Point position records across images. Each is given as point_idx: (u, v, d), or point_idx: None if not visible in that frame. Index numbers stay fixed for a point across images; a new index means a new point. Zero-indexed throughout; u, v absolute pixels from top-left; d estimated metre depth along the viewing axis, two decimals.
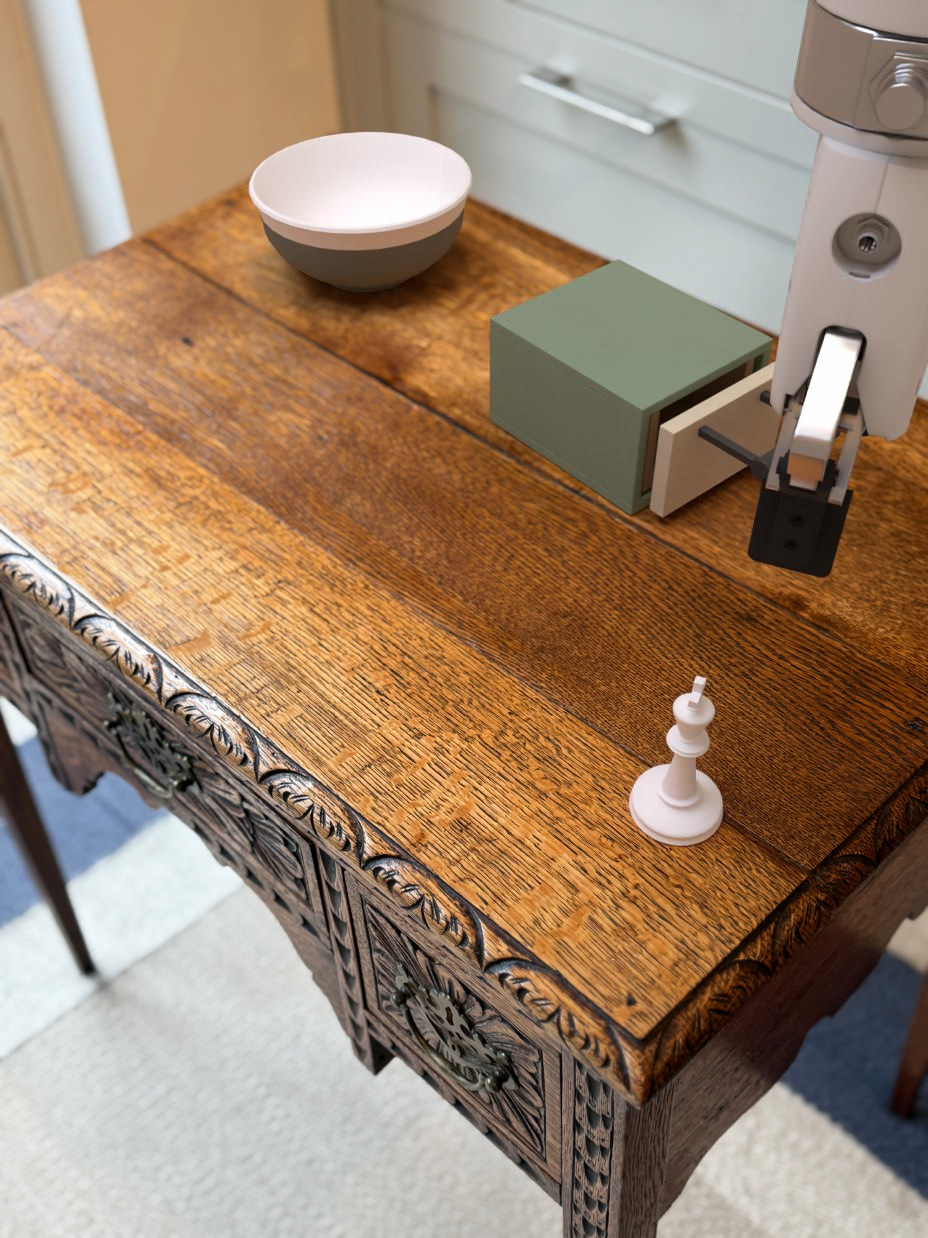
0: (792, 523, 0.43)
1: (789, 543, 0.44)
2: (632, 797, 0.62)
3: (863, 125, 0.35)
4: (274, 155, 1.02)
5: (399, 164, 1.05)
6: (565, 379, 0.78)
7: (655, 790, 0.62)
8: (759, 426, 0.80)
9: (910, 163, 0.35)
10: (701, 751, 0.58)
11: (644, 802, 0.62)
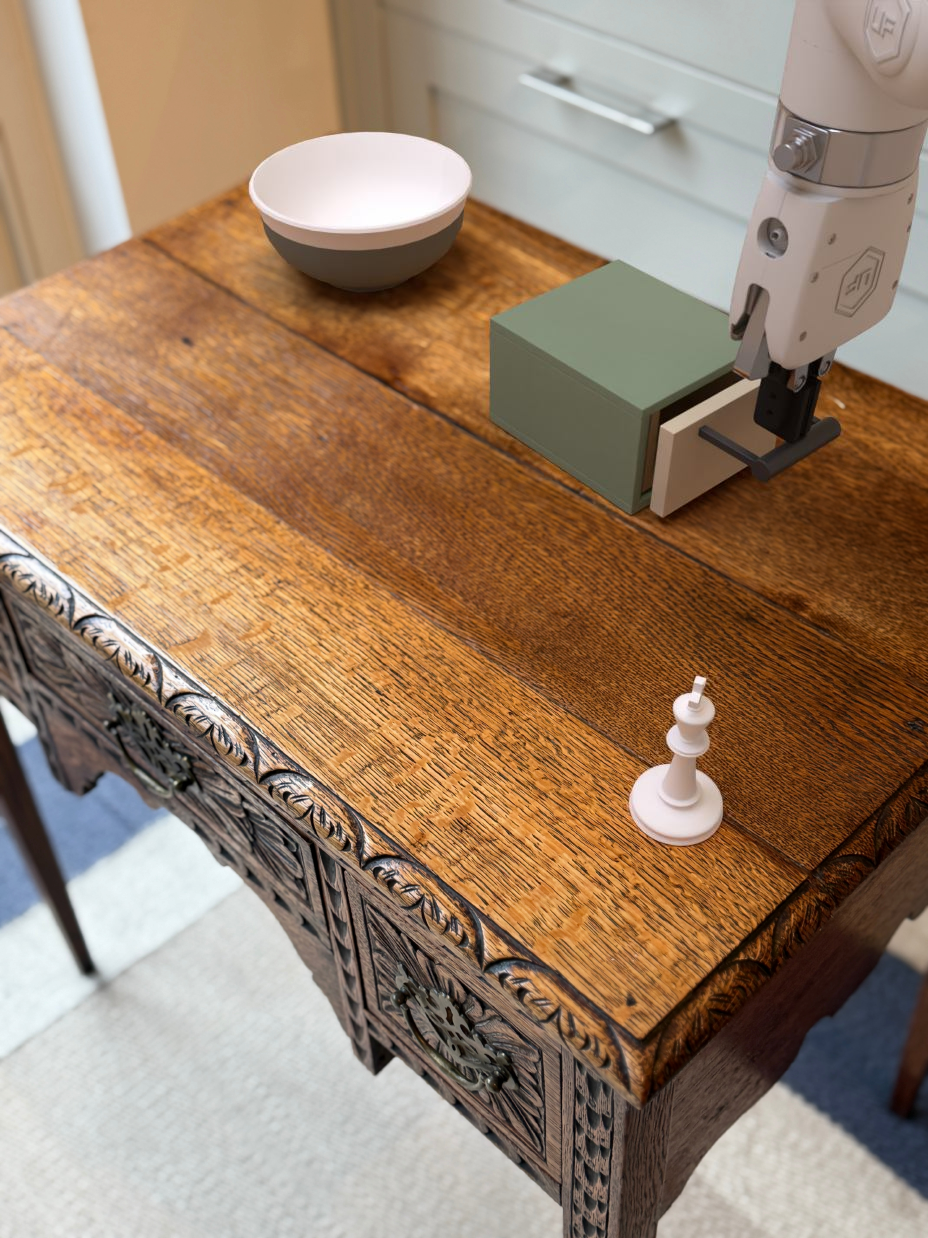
0: (771, 399, 0.71)
1: (770, 413, 0.72)
2: (632, 797, 0.62)
3: None
4: (274, 155, 1.02)
5: (399, 164, 1.05)
6: (565, 379, 0.78)
7: (655, 790, 0.62)
8: (759, 426, 0.80)
9: (799, 193, 0.60)
10: (701, 751, 0.58)
11: (644, 802, 0.62)
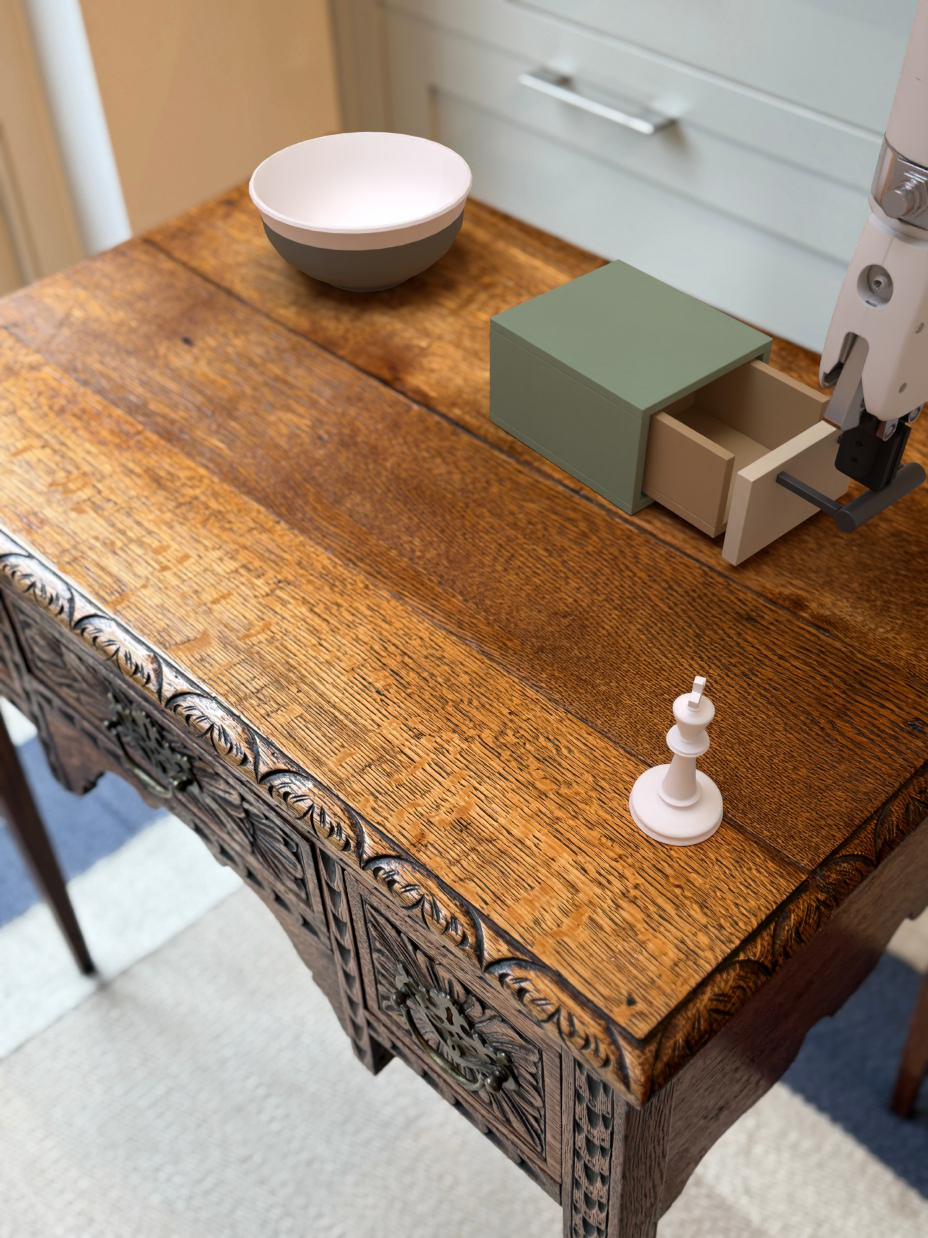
0: (857, 446, 0.68)
1: (854, 460, 0.69)
2: (632, 797, 0.62)
3: None
4: (274, 155, 1.02)
5: (399, 164, 1.05)
6: (565, 379, 0.78)
7: (655, 790, 0.62)
8: (834, 470, 0.76)
9: (907, 240, 0.56)
10: (701, 751, 0.58)
11: (644, 802, 0.62)
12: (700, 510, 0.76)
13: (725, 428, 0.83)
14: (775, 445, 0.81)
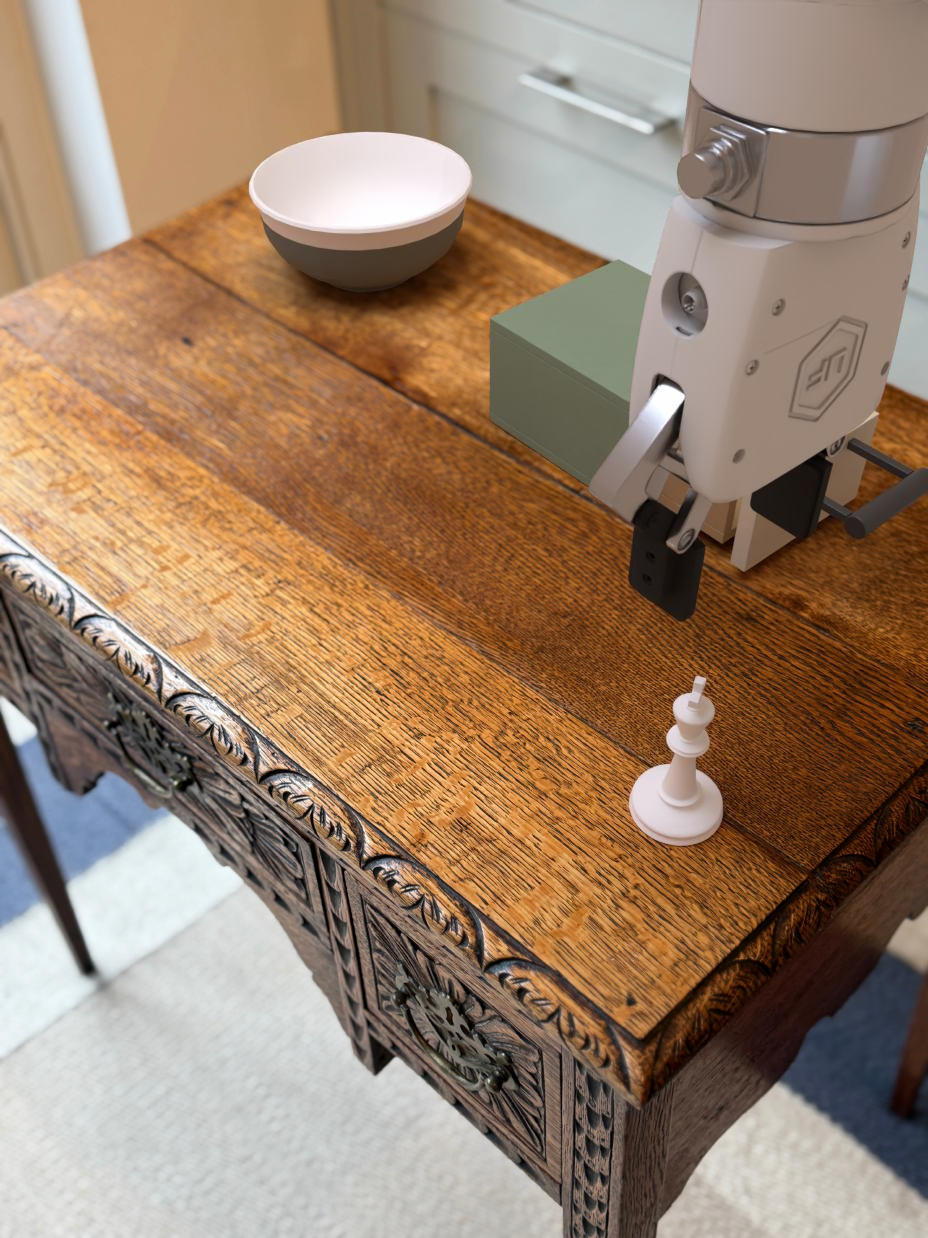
0: (647, 558, 0.46)
1: (648, 578, 0.47)
2: (632, 797, 0.62)
3: None
4: (274, 155, 1.02)
5: (399, 164, 1.05)
6: (565, 379, 0.78)
7: (655, 790, 0.62)
8: (843, 475, 0.76)
9: (724, 234, 0.36)
10: (701, 751, 0.58)
11: (644, 802, 0.62)
12: (709, 515, 0.75)
13: None
14: None
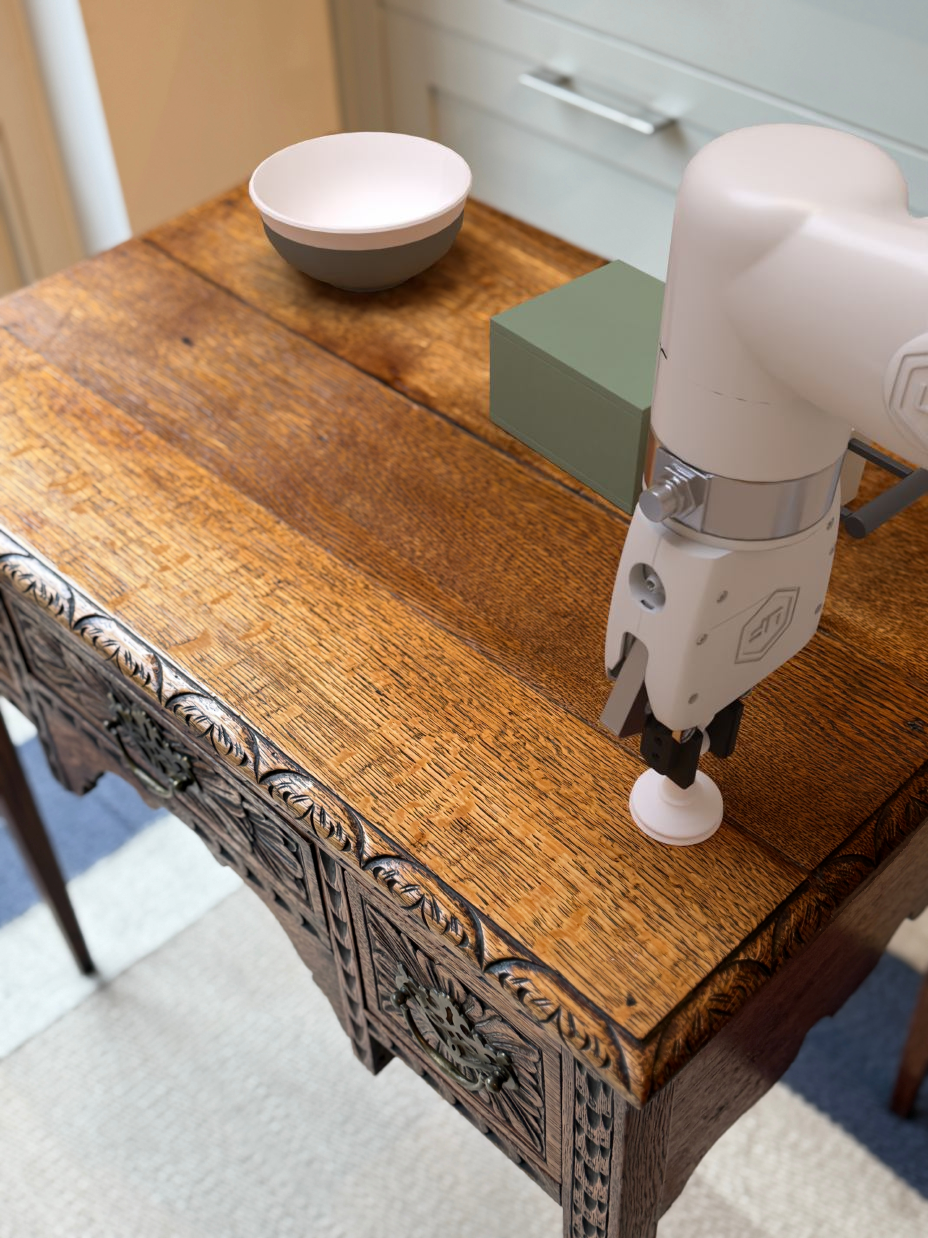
0: (656, 742, 0.56)
1: (656, 755, 0.57)
2: (632, 797, 0.62)
3: None
4: (274, 155, 1.02)
5: (399, 164, 1.05)
6: (565, 379, 0.78)
7: (655, 790, 0.62)
8: (843, 475, 0.76)
9: (677, 542, 0.45)
10: (701, 751, 0.58)
11: (644, 802, 0.62)
12: None
13: None
14: None
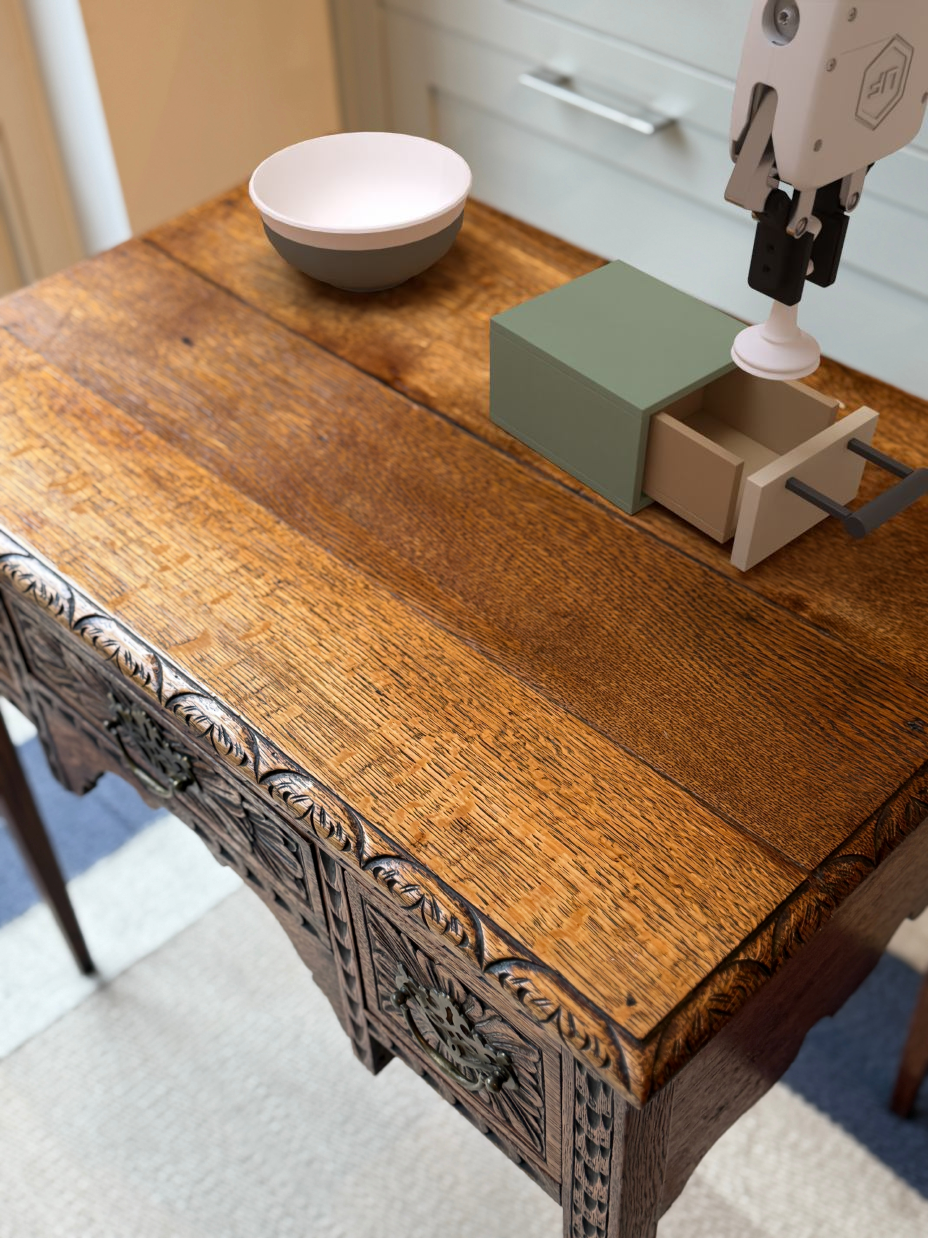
0: (768, 251, 0.61)
1: (767, 269, 0.61)
2: (735, 344, 0.66)
3: None
4: (274, 155, 1.02)
5: (399, 164, 1.05)
6: (565, 379, 0.78)
7: (757, 335, 0.66)
8: (843, 475, 0.76)
9: None
10: (807, 270, 0.62)
11: (747, 345, 0.66)
12: (709, 515, 0.75)
13: (733, 432, 0.83)
14: (783, 450, 0.80)
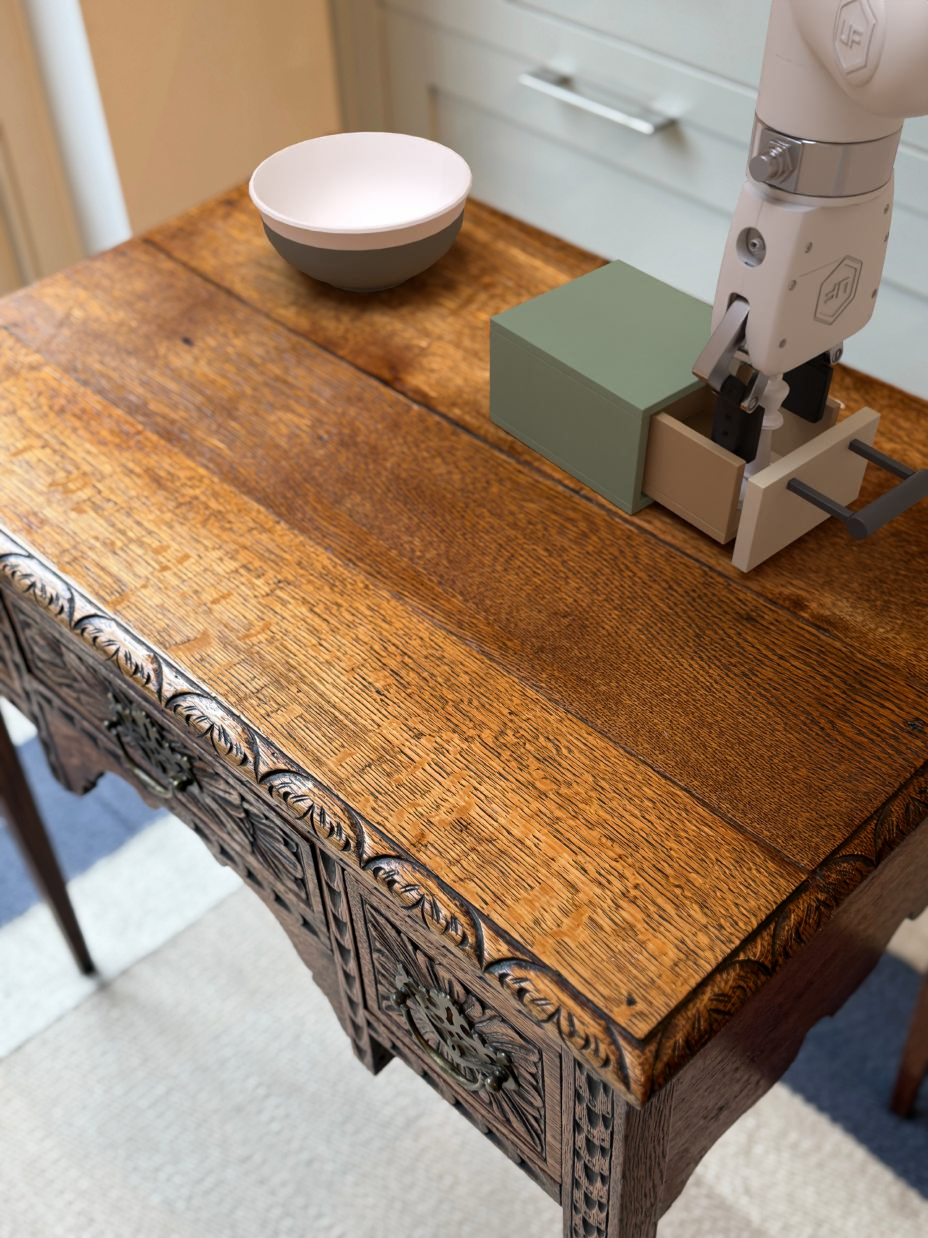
0: (726, 420, 0.71)
1: (726, 434, 0.72)
2: None
3: None
4: (274, 155, 1.02)
5: (399, 164, 1.05)
6: (565, 379, 0.78)
7: None
8: (845, 476, 0.76)
9: (776, 203, 0.61)
10: (777, 424, 0.74)
11: None
12: (710, 516, 0.75)
13: None
14: (785, 451, 0.80)
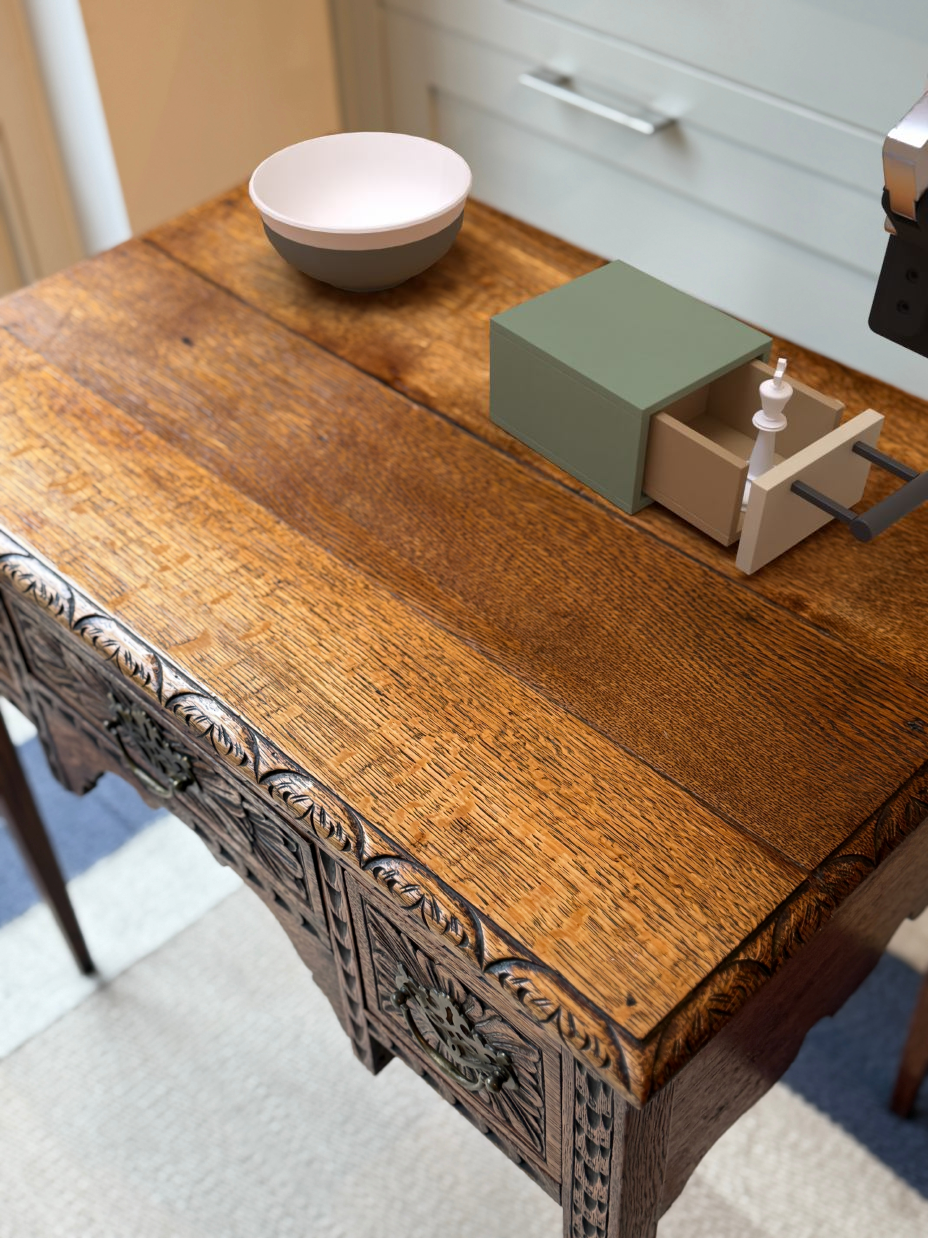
0: (907, 279, 0.40)
1: (903, 307, 0.41)
2: None
3: None
4: (274, 155, 1.02)
5: (399, 164, 1.05)
6: (565, 379, 0.78)
7: None
8: (848, 478, 0.76)
9: None
10: (781, 426, 0.73)
11: None
12: (713, 519, 0.75)
13: (737, 435, 0.82)
14: (788, 453, 0.80)
